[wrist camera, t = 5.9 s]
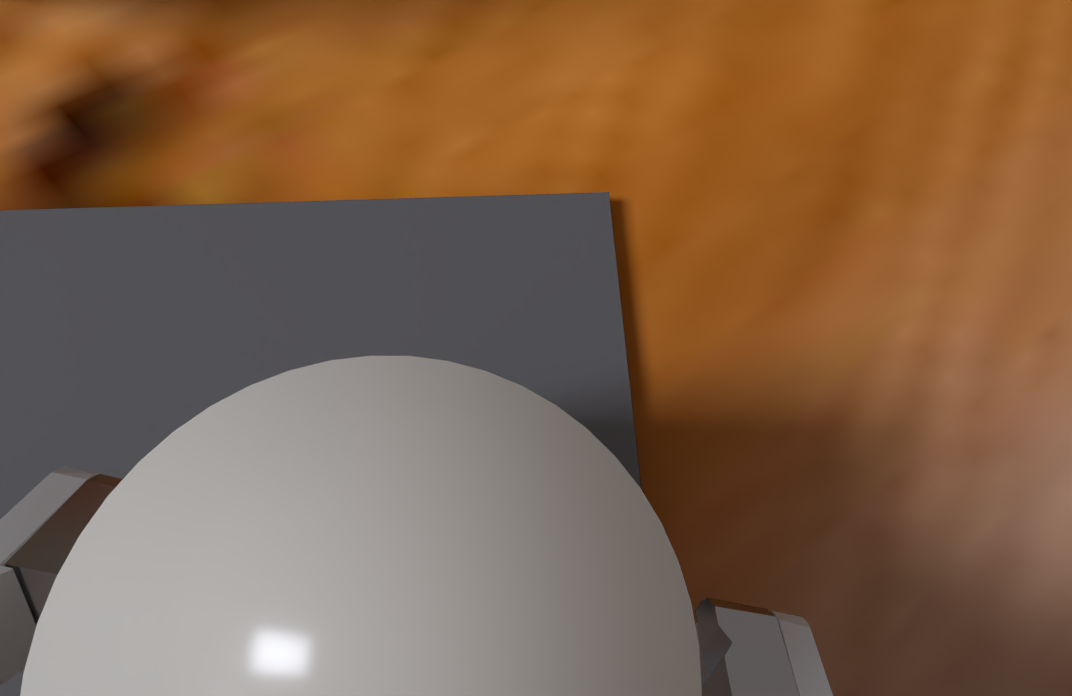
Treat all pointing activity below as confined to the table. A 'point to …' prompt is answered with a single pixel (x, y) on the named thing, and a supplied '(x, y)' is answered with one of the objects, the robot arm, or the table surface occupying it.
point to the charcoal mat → (291, 313)
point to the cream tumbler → (372, 552)
